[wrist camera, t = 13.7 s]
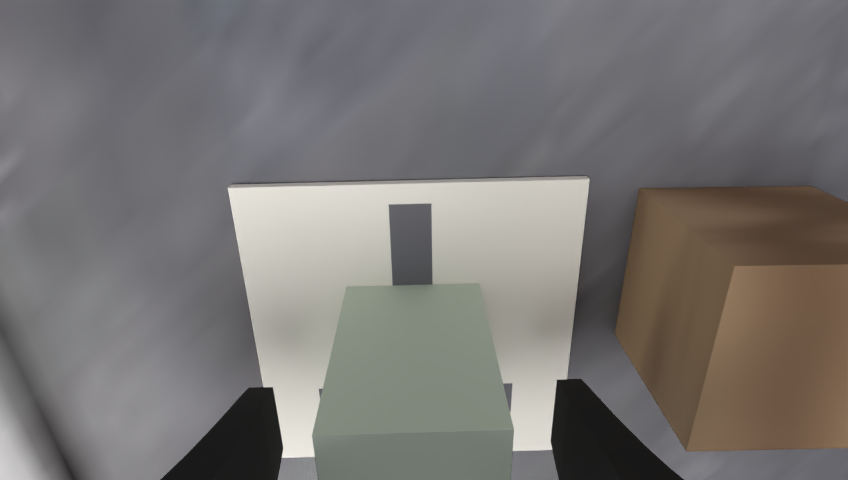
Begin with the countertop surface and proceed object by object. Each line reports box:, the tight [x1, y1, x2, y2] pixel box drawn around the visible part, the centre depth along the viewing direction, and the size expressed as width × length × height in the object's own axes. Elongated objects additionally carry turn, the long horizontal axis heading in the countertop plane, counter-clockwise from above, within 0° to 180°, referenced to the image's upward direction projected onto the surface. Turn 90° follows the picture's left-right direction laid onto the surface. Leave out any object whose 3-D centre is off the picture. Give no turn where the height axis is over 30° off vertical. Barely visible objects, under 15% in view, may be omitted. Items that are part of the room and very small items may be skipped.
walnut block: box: [615, 186, 848, 451], centre depth 14 cm, size 5×5×5 cm
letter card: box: [228, 176, 590, 458], centre depth 17 cm, size 10×10×1 cm
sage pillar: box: [312, 283, 514, 480], centre depth 14 cm, size 4×4×6 cm
